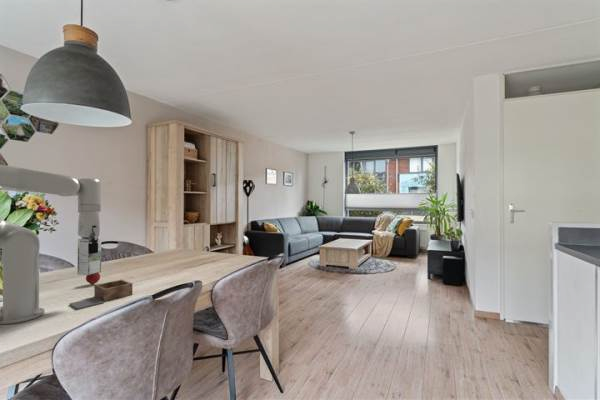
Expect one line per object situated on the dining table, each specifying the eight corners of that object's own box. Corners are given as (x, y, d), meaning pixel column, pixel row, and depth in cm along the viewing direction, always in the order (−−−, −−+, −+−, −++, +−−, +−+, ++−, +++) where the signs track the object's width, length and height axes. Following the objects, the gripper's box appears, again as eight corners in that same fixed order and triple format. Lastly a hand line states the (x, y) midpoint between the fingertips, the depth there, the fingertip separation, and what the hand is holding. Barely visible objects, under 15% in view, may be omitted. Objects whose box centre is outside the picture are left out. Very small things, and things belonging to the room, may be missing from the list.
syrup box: (90, 271, 124) (90, 236, 124) (101, 272, 122) (101, 237, 122) (77, 274, 119) (76, 238, 119) (88, 275, 117) (88, 239, 117)
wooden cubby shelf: (104, 301, 123) (104, 289, 123) (94, 296, 129) (94, 285, 129) (132, 294, 131) (132, 283, 131) (121, 290, 138) (121, 279, 138)
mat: (77, 309, 113) (77, 308, 113) (69, 304, 119) (69, 303, 119) (103, 303, 121) (103, 301, 121) (95, 298, 126) (95, 297, 126)
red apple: (102, 282, 151) (102, 267, 151) (96, 286, 145) (96, 269, 145) (89, 283, 150) (89, 267, 150) (83, 286, 144) (83, 270, 144)
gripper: (71, 208, 123) (71, 251, 123) (86, 209, 112) (86, 256, 112) (92, 208, 129) (92, 249, 129) (108, 208, 118) (108, 253, 118)
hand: (89, 252), depth 121 cm, fingers closed on syrup box, 7 cm apart
